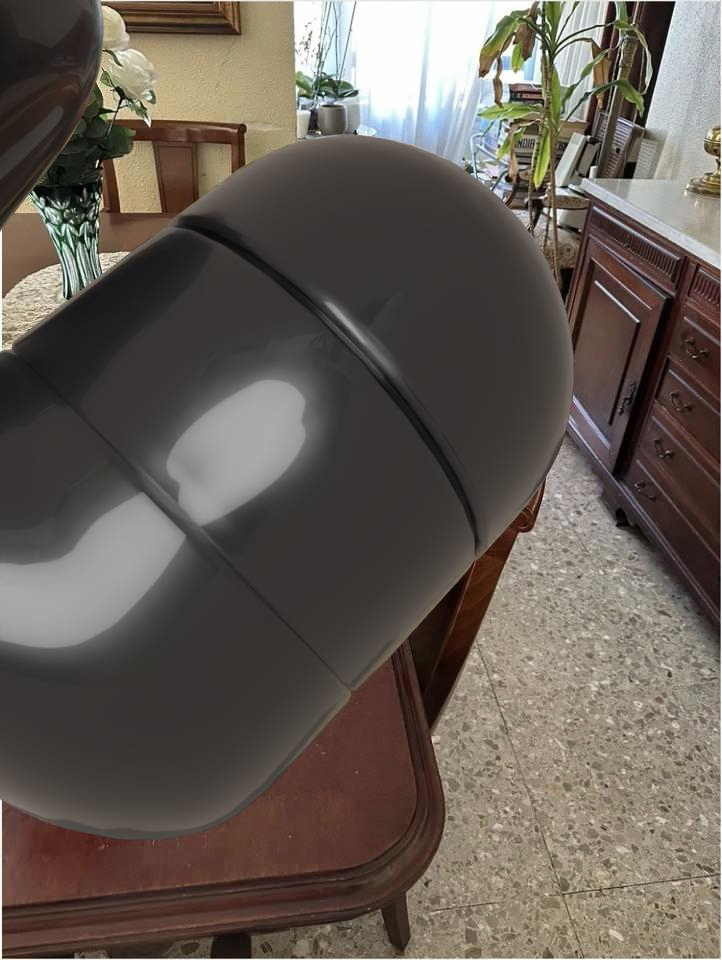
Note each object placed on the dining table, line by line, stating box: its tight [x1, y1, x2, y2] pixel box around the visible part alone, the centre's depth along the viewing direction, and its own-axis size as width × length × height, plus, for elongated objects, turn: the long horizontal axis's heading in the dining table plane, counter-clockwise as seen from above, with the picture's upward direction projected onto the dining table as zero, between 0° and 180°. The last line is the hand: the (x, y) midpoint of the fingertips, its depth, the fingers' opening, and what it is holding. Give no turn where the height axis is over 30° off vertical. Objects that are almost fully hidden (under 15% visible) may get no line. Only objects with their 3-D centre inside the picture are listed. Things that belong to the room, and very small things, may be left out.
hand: (246, 567), depth 43 cm, fingers closed on block, 5 cm apart
